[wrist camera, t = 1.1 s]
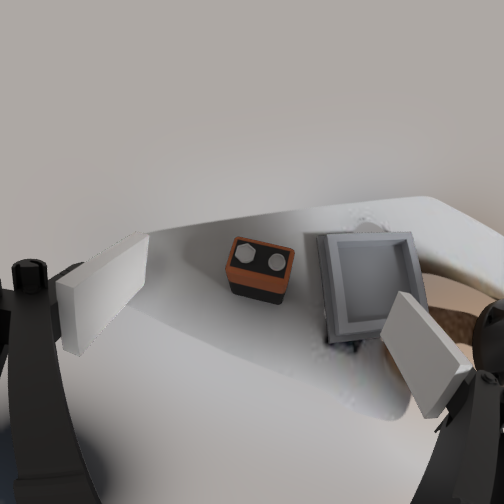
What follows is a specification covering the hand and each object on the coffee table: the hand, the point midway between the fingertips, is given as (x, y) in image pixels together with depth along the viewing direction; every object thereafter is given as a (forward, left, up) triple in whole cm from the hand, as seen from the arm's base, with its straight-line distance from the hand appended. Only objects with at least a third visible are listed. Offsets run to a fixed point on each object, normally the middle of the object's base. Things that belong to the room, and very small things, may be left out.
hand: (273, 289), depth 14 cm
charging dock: (+7, -16, -24) cm, 30 cm away
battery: (+8, 0, -25) cm, 26 cm away
